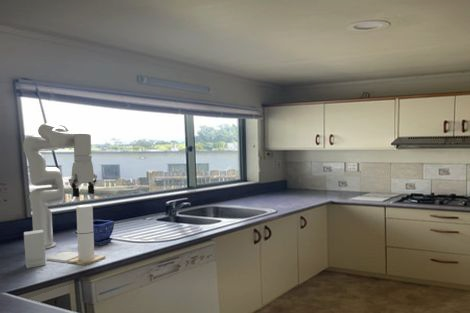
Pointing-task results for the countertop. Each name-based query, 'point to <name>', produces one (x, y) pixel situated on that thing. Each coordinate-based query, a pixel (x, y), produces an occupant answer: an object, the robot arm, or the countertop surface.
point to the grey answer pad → (63, 257)
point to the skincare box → (34, 248)
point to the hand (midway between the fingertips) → (83, 195)
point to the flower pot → (102, 231)
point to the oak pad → (86, 262)
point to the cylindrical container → (85, 232)
